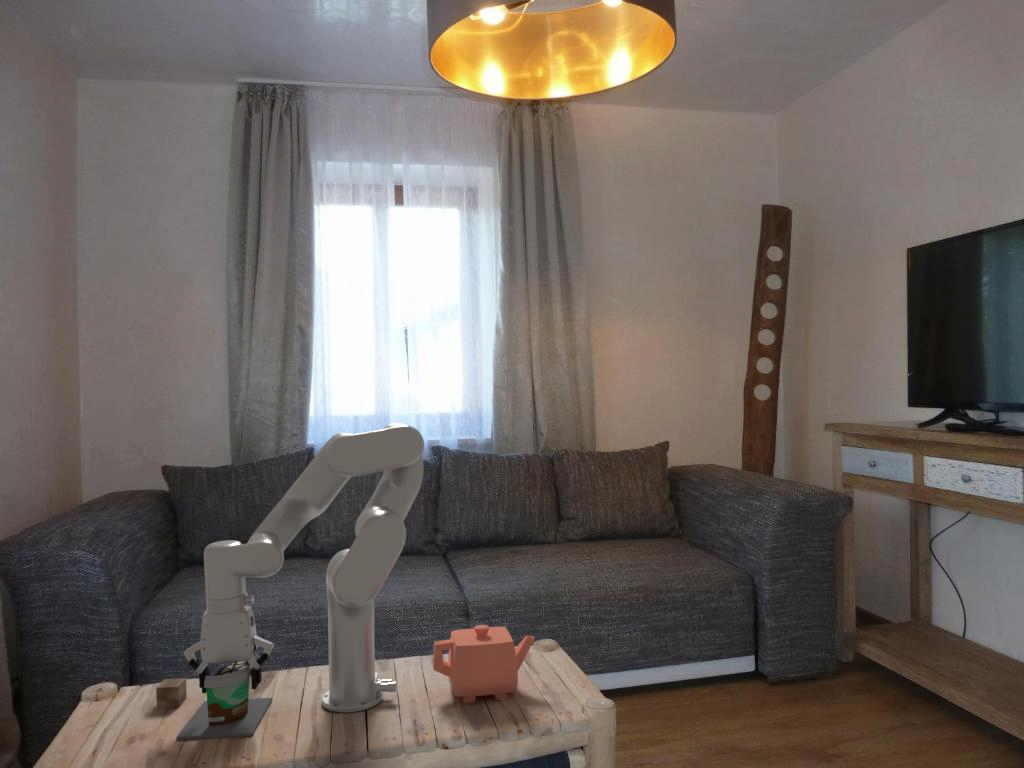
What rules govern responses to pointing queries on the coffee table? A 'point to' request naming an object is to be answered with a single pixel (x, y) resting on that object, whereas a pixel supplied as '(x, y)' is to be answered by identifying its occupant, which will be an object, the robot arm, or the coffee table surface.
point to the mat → (240, 728)
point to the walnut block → (171, 693)
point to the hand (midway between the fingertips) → (231, 688)
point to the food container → (228, 693)
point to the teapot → (481, 661)
